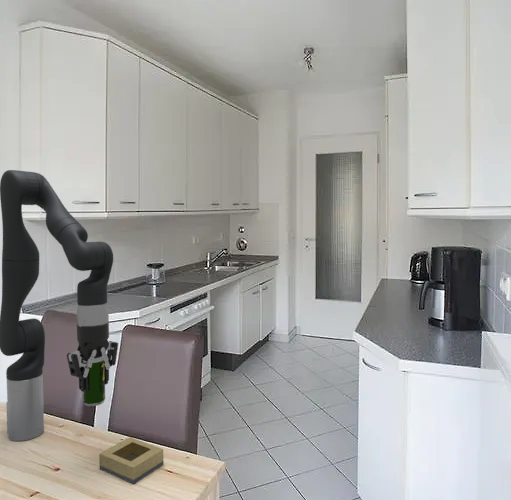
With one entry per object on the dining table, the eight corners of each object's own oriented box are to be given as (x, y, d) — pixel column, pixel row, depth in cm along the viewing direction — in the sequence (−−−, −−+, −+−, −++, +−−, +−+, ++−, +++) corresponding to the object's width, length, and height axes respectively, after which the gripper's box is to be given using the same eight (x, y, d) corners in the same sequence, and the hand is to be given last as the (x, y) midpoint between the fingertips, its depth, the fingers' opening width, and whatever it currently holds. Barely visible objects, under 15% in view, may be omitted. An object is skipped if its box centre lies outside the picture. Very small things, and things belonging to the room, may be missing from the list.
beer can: (85, 408, 108) (84, 360, 108) (80, 401, 113) (79, 355, 112) (107, 403, 111) (106, 356, 111) (102, 396, 116) (101, 351, 115)
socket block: (99, 469, 110) (99, 453, 110) (130, 451, 118) (130, 437, 118) (133, 484, 104) (133, 467, 103) (163, 464, 112) (163, 449, 112)
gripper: (106, 314, 119) (107, 376, 120) (57, 325, 107) (59, 393, 108) (125, 317, 115) (126, 381, 116) (77, 328, 103) (79, 400, 104)
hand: (94, 387), depth 112 cm, fingers closed on beer can, 5 cm apart
